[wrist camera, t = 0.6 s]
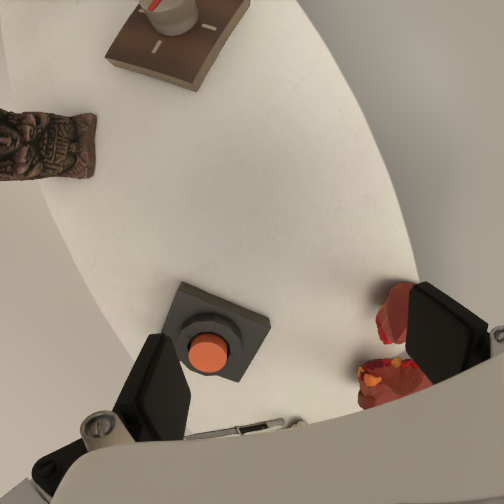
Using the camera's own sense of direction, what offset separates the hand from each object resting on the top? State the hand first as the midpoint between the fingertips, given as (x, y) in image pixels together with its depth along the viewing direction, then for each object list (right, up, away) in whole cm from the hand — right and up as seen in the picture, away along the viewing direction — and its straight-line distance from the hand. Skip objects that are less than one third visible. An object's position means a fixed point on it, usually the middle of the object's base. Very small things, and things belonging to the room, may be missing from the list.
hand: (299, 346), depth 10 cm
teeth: (+16, 0, +18) cm, 24 cm away
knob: (-9, +25, +10) cm, 29 cm away
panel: (-9, +26, +13) cm, 31 cm away
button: (-6, -6, +18) cm, 20 cm away
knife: (-4, -24, +26) cm, 36 cm away
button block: (-6, -5, +21) cm, 23 cm away
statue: (-21, +15, +16) cm, 30 cm away
